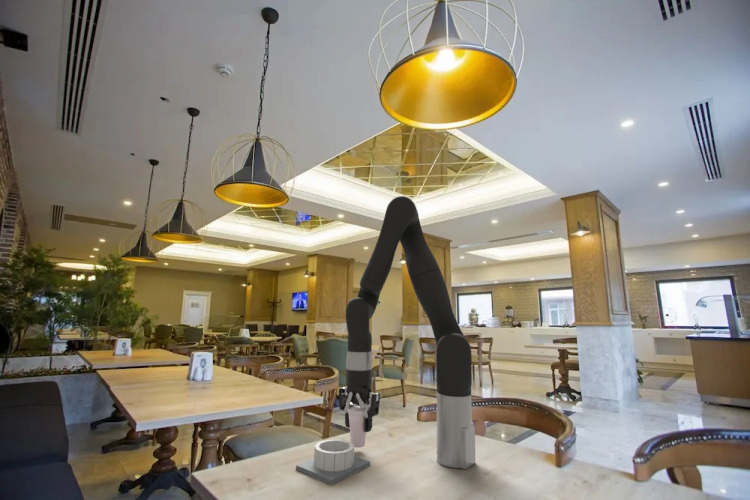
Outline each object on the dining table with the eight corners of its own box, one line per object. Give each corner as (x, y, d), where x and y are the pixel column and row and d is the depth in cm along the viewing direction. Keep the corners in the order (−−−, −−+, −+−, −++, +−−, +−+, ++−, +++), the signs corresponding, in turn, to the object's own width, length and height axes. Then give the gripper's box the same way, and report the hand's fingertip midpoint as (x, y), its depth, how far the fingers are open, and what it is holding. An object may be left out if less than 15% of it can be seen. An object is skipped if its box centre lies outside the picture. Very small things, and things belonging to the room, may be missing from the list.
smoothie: (368, 449, 100) (369, 395, 102) (345, 448, 100) (346, 394, 103) (369, 441, 106) (370, 390, 109) (347, 441, 107) (348, 390, 109)
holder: (370, 465, 94) (370, 444, 95) (331, 484, 83) (332, 460, 84) (335, 453, 101) (336, 434, 102) (295, 469, 90) (297, 447, 91)
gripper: (386, 368, 105) (386, 431, 103) (349, 363, 114) (348, 421, 111) (370, 371, 100) (369, 438, 97) (332, 366, 108) (330, 427, 106)
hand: (358, 428), depth 104 cm, fingers closed on smoothie, 6 cm apart
